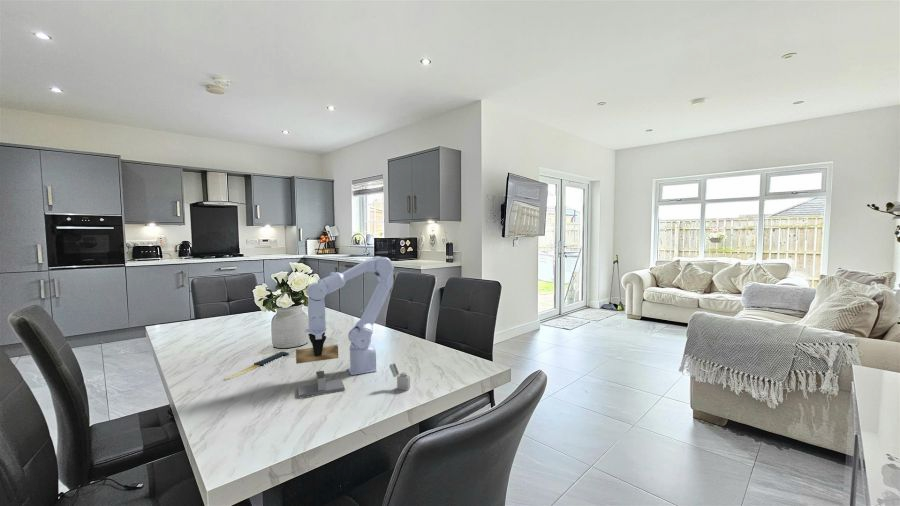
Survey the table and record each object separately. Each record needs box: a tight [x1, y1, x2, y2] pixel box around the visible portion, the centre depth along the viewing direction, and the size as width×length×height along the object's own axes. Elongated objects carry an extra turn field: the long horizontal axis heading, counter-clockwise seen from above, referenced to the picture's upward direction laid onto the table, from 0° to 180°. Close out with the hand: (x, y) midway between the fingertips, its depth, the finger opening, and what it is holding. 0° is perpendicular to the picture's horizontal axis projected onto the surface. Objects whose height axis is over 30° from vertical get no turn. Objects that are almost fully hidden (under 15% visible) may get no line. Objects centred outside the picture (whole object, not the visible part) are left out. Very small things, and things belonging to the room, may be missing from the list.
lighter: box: [389, 362, 411, 392], centre depth 122 cm, size 7×2×8 cm, turn 66°
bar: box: [295, 344, 339, 365], centre depth 131 cm, size 14×3×4 cm, turn 114°
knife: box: [224, 351, 290, 381], centre depth 145 cm, size 4×2×30 cm
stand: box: [297, 370, 346, 399], centre depth 122 cm, size 14×8×5 cm, turn 114°
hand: (317, 354), depth 131 cm, fingers closed on bar, 3 cm apart
